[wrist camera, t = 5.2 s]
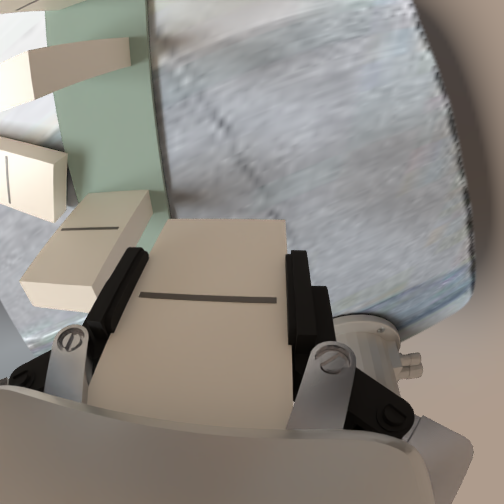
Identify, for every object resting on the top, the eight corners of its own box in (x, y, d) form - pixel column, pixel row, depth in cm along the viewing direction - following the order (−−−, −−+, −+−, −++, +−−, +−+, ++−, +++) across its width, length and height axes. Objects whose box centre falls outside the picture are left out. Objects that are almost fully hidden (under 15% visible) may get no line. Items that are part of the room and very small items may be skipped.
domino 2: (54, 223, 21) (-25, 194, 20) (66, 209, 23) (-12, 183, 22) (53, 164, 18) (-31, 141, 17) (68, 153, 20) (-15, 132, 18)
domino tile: (285, 219, 14) (293, 459, 6) (283, 258, 15) (286, 480, 7) (167, 218, 14) (72, 428, 6) (174, 255, 15) (103, 456, 7)
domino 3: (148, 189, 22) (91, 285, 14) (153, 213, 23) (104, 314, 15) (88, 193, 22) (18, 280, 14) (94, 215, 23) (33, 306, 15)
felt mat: (146, -53, 11) (144, -54, 11) (186, 299, 29) (186, 302, 29) (47, -19, 12) (44, -20, 11) (114, 295, 29) (112, 298, 29)
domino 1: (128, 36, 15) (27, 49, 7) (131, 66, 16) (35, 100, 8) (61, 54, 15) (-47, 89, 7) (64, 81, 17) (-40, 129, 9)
